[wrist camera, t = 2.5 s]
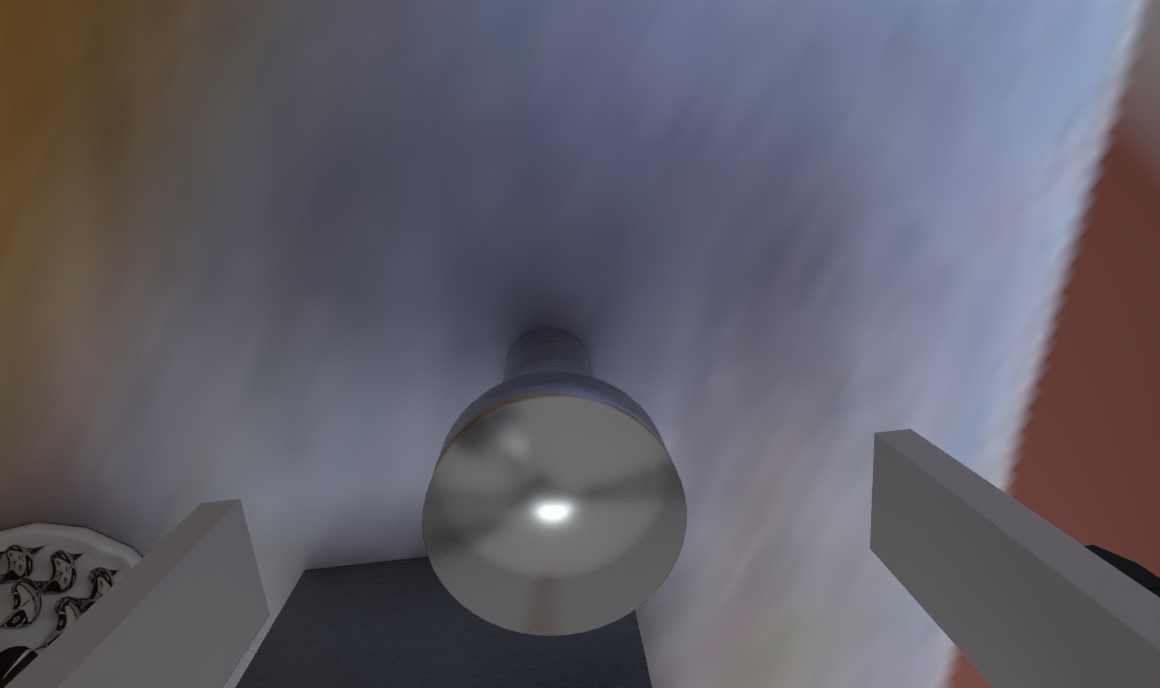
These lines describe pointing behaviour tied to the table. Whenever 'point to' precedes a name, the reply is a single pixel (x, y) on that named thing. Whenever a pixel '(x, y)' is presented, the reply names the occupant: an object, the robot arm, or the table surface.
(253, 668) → the hitch block
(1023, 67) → the table surface
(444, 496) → the pin
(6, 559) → the decorative candle
